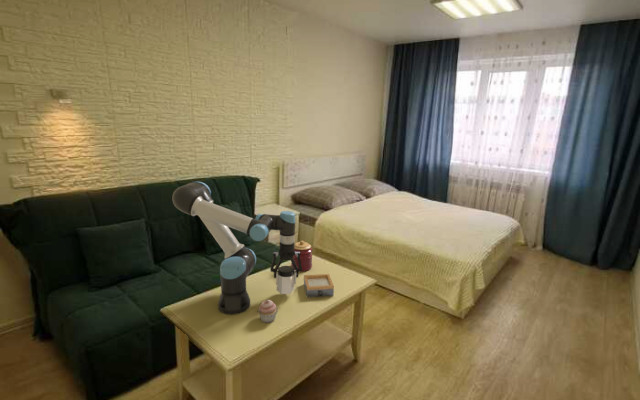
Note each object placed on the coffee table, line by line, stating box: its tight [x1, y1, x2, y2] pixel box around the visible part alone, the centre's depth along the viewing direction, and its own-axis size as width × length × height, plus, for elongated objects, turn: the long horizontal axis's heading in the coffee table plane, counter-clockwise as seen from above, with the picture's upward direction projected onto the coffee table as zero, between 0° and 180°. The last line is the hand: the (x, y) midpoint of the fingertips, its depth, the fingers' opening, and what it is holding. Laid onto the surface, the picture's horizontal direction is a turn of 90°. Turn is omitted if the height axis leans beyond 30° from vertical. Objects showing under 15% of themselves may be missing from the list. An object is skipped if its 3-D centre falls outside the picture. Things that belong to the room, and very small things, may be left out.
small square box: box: [303, 273, 335, 298], centre depth 178 cm, size 14×15×6 cm
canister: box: [290, 240, 313, 272], centre depth 203 cm, size 13×13×18 cm
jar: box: [276, 265, 295, 295], centre depth 170 cm, size 9×8×12 cm
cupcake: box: [257, 299, 279, 324], centre depth 150 cm, size 9×9×10 cm
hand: (285, 283), depth 170 cm, fingers closed on jar, 9 cm apart
